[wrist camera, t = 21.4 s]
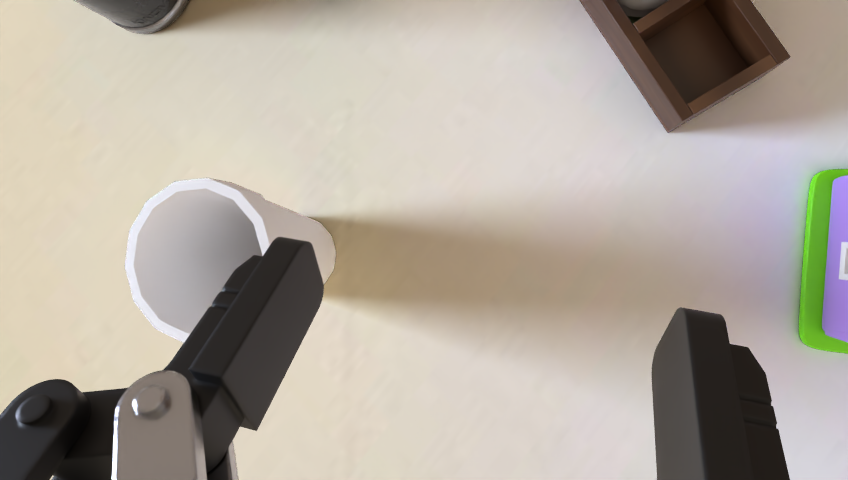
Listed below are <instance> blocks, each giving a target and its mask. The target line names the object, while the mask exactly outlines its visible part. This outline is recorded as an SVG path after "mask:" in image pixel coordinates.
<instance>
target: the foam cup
mask: <svg viewBox="0 0 848 480" xmlns="http://www.w3.org/2000/svg"><path fill="white" fill-rule="evenodd" d="M277 237H285V238H291V239H297V240H303V241H308V242H310V243H311V244H312V245H313V248H314V252H315V255H316V259H317V262H318V266H319V269H320V273H321V276H322V280H323V284H325V282H326V281H327V279H328V278H329V276H330V275H331V273H332V272H333V270H334V265H335V258H336V249H335V246H334V242H333V239H332V235H331V234H330V233H329V232H328V231H327V230H326V229H325V227H324V226H323V225H322V224H321V223H320V222H318V221H316V220H313V219H311V218H308V217H306V216H303V215H301V214H299V213H296V212H294V211H291V210H289V209H287V208H284V207H282V206H279V205H277V204H274V203H272V202H270V201H267V200H265V199H264V197H263V196H262V195H261V194H259V193H256V192H254V191H251V190H249V189H246V188H244V187H241V186H239V185H236V184H234V183H232V182H226V181H221V180H216V179H211V178H200V179H192V180H183V181H175V182H173V183H172V184H170V185H169V186H167V187H166V188H164V189H163V190H161V191H160V192H159V193H157V194H156V195H154V196H153V197H151V198H150V199H148V200H147V201H146V203H145V205H144V206H143V208H142V210H141V212H140V213H139V215H138V217H137V218H136V220H135V222H134V224H133V225H132V227H131V229H130V230H129V237H128V245H127V252H126V260H125V270H126V273H127V277H128V281H129V285H130V289H131V293H132V296H133V300H134V302H135V304H136V305H137V306H138V307H139V309H140V310H141V311H142V313H143V314H144V315H145V316H146V318H147V319H148V320H149V322H150V323H151V324H152V325H153V327H154V328H155V329H157V330H159V331H161V332H163V333H165V334H167V335H169V336H171V337H173V338H175V339H177V340H179V341H181V342H183V343H184V342H185V341H186V339H187V338H188V336H189V335H190V334H191V332H192V331H193V329H194V328H195V326H196V325H197V324H198V322H199V321H200V319H201V318H202V316H203V315H204V313H205V312H206V311H207V309H208V308H209V306H210V307H211V306H212V302H213V301H214V299H215V298H216V296H217V295H218V293H219V292H221V291H222V289H223V286H224V285H225V283H226V282H227V280H228V279H229V278H230V276H231V275H232V273H233V272H234V270H235V269H236V268H238V267H239V266H240V265H242V264H243V263H244V262H245V261H247V260H248V259H249V258H251V257H252V256H253V255H257V256H263V255H264V254H265V252H266V250H267V249H268V247H269V246H270V244H271V243H272V242H273V240H274V239H276V238H277Z"/></svg>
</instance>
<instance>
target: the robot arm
mask: <svg viewBox="0 0 848 480" xmlns="http://www.w3.org/2000/svg"><path fill="white" fill-rule="evenodd" d="M74 1H75V2H77V3H79V4H81V5H83V6H85V7H87V8H88V9H90V10H92V11H94V12H96V13H98V14H100V15H102V16H104V17H106V18H107V19H109V20H111V21H112V22H113V23H115V24H116V25H118V26H120V27H122V28H124V29H126V30H128V31H131V32H134V33H139V34H147V33H153V32H157V31H159V30H162V29H164V28H165V27H167V26H169V25H170V24H171V23H172V22H174V21H175V20H176V19H177V18H178V17H179V16H180V14H181V13H182V12H183V10H184V9H185V7H186V5H187V3H188V1H189V0H74ZM323 290H324V285H323V280H322V276H321V273H320V269H319V266H318V262H317V259H316V255H315V252H314V248H313V245H312V244H311V243H310V242H308V241H303V240H297V239H291V238H285V237H277V238H276V239H274V240H273V242H272V243H271V244H270V246H269V247H268V249H267V250H266V252H265V254H264V255H263V256H257V255H253V256H252V257H251V258H249V259H248V260H247V261H245V262H244V263H243V264H242V265H240V266H239V267H238V268H236V269H235V270H234V272H233V273H232V275H231V276H230V278H229V279H228V280H227V282H226V283H225V285H224V286H223V289H222V291H221V292H219V293H218V295H217V296H216V298H215V299H214V301H213V302H212V306H211V307H210V306H209V308H208V309H207V311H206V312H205V313H204V315H203V316H202V318H201V319H200V321H199V322H198V324H197V325H196V326H195V328H194V329H193V331H192V332H191V334H190V335H189V336H188V338H187V339H186V341H185V342H184V344H183V345H182V347H181V348H180V349H179V351H178V352H177V354H176V355H175V357H174V358H173V359H172V361H171V362H170V363H169V365H168V366H167V367H166V368H165V369H164V370H162V371H157V372H153V373H150V374H148V375H146V376H144V377H142V378H140V379H139V380H137V381H136V382H134V383H133V384H132V385H131V386H130V387H129V388H124V389H114V390H103V391H93V392H83V393H82V392H81V391H79V390H78V389H77V388H76V387H75V386H74V385H73V384H72V383H70V382H68V381H66V380H60V379H54V380H48V381H44V382H41V383H38V384H36V385H34V386H32V387H30V388H28V389H27V390H25V391H24V392H22V393H21V394H20V395H18V396H17V397H16V398H15V399H14V400H13V401H12V402H11V403H10V404H9V405H8V406H7V407H6V409H5V410H4V411H3V412H2V414H1V415H0V480H49V479H50V478H51V476H52V475H54V477H53V478H52V480H239V479H238V472H237V465H236V457H235V450H234V444H233V441H232V440H233V438H234V437H235V435H236V433H237V431H238V429H239V427H240V426H241V427H244V428H248V429H252V430H256V431H257V429H258V427H259V425H260V423H261V421H262V419H263V417H264V415H265V413H266V411H267V409H268V408H269V406H270V404H271V402H272V400H273V398H274V396H275V394H276V392H277V390H278V388H279V386H280V384H281V382H282V380H283V378H284V376H285V374H286V372H287V370H288V368H289V366H290V364H291V362H292V360H293V358H294V356H295V354H296V352H297V350H298V348H299V346H300V344H301V342H302V340H303V338H304V336H305V335H306V333H307V331H308V329H309V327H310V325H311V323H312V321H313V319H314V317H315V315H316V313H317V311H318V309H319V307H320V304H321V301H322V297H323ZM652 390H653V409H654V427H655V445H656V463H657V480H790V478H789V474H788V470H787V465H786V461H785V457H784V452H783V448H782V444H781V439H780V435H779V430H778V429H776V424H777V422H776V417H775V413H774V409H773V406H771V401H772V400H771V396H770V391H769V387H768V382H767V378H766V374H765V372H764V371H763V369H762V368H761V366H760V365H759V363H758V362H757V360H756V359H755V357H754V356H753V354H752V353H751V351H750V350H749V348H748V347H743V346H738V345H733V344H729V338H728V333H727V327H726V322H725V320H724V318H723V316H722V315H720V314H715V313H709V312H704V311H698V310H692V309H686V308H678V309H677V311H676V312H675V314H674V316H673V318H672V320H671V321H670V323H669V325H668V327H667V329H666V331H665V333H664V334H663V336H662V338H661V340H660V342H659V344H658V345H657V348H656V350H655V353H654V357H653V363H652Z"/></svg>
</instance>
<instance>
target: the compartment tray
mask: <svg viewBox="0 0 848 480" xmlns="http://www.w3.org/2000/svg"><path fill="white" fill-rule="evenodd" d="M580 2H581V3H582V5H583V6H584V8H585V9H586V11H587V12H588V14H589V15H590V17H591V18H592V20H593V21H594V23H595V24H596V26H597V27H598V29H599V30H600V32H601V33H602V35H603V36H604V38H605V39H606V41H607V42H608V44H609V45H610V47H611V48H612V50H613V51H614V53H615V54H616V56H617V57H618V59H619V60H620V62H621V63H622V65H623V66H624V68H625V69H626V71H627V72H628V74H629V75H630V77H631V78H632V80H633V81H634V83H635V84H636V86H637V87H638V89H639V90H640V92H641V93H642V95H643V96H644V98H645V99H646V101H647V102H648V104H649V105H650V107H651V108H652V110H653V111H654V113H655V114H656V116H657V117H658V119H659V120H660V122H661V123H662V125H663V126H664V128H665V129H666V131H667V132H668V133H669V132H671V131H672V130H674V129H676V128H677V127H679V126H681V125H682V124H684V123H686V122H687V121H689V120H691V119H692V118H694V117H696V116H697V115H699V114H701V113H702V112H704V111H706V110H707V109H709V108H711V107H713V106H714V105H716V104H718V103H719V102H721V101H723V100H724V99H726V98H728V97H729V96H731V95H733V94H734V93H736V92H738V91H739V90H741V89H743V88H744V87H746V86H748V85H749V84H751V83H753V82H755V81H756V80H758V79H760V78H761V77H763V76H765V75H766V74H767V73H769V72H770V71H772V70H773V69H774V68H776V67H777V66H779V65H780V64H782V63H783V62H784V61H786V60H787V59H789V58H790V55H789V54H788V53H787V51H786V50H785V48H784V47H783V45H782V44H781V43H780V41H779V40H778V38H777V37H776V36H775V34H774V33H773V31H772V30H771V29H770V27H769V26H768V24H767V23H766V22H765V20H764V19H763V17H762V16H761V15H760V13H759V12H758V10H757V9H756V8H755V6H754V5H753V3H752V2H751V1H750V0H669V1H667V2H666V3H664V4H663V5H661V6H660V7H658V8H657V9H655V10H653V11H652V12H650V13H649V14H647V15H646V16H644V17H634V16H627V15H626V14H625V12H624V11H623V9H622V8H621V6H620V5H619V3H618V2H617V0H580Z"/></svg>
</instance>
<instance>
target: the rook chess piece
mask: <svg viewBox="0 0 848 480" xmlns="http://www.w3.org/2000/svg"><path fill="white" fill-rule="evenodd" d="M667 1H669V0H617V2H618V3H619V5H620V6H621V8H622V9H623V11H624V12H625V14H626V15H627V16H634V17H644V16H646V15H647V14H649V13H650V12H652V11H653V10H655V9H657V8H658V7H660V6H661V5H663V4H664V3H666V2H667Z"/></svg>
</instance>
